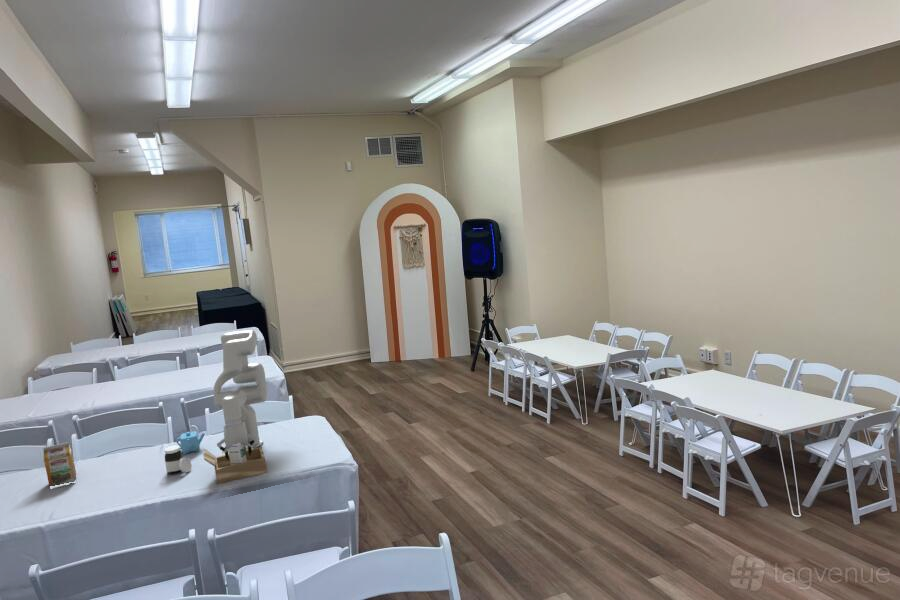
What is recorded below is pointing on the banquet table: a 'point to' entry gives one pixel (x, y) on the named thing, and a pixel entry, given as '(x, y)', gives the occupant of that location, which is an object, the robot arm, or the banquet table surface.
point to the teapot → (190, 442)
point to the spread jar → (176, 460)
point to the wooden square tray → (240, 466)
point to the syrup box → (237, 454)
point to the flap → (209, 458)
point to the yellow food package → (59, 464)
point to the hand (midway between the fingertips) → (239, 456)
